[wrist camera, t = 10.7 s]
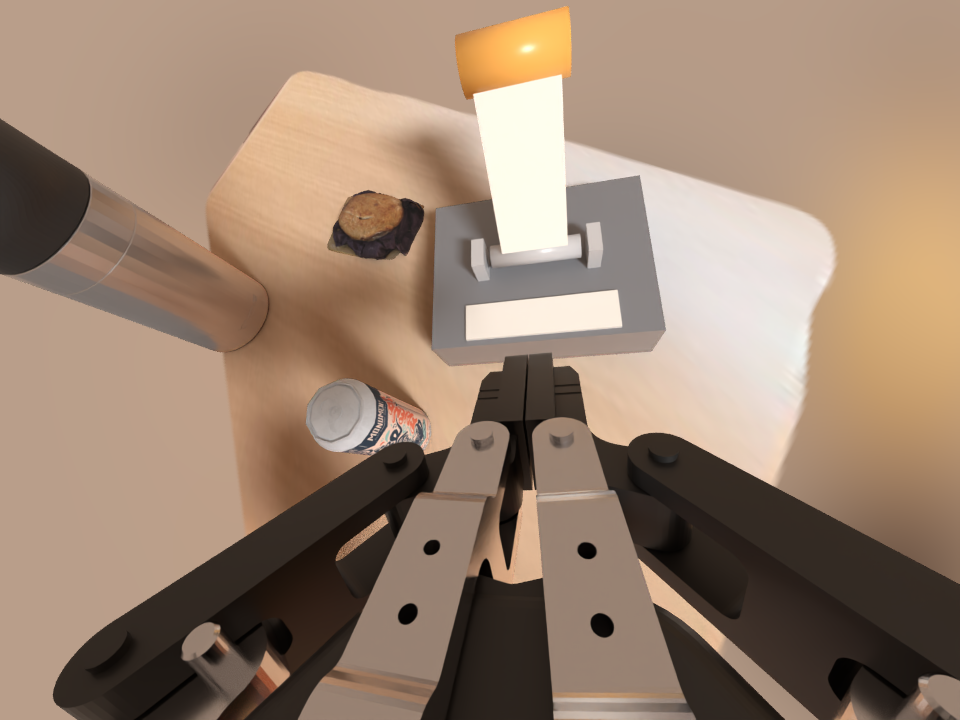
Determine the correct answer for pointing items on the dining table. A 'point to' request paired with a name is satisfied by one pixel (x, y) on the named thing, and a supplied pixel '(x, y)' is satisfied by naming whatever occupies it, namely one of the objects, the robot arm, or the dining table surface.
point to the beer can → (363, 419)
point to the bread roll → (376, 226)
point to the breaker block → (548, 283)
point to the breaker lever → (523, 131)
